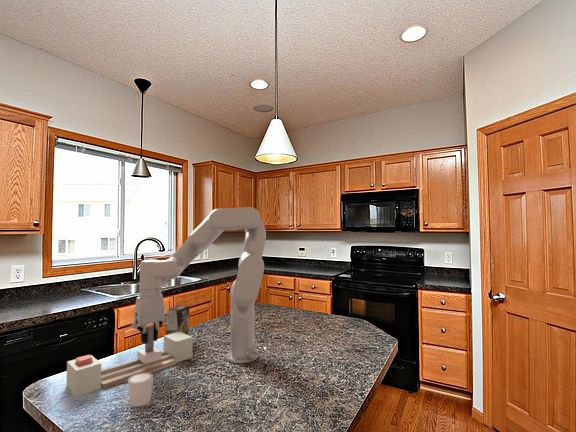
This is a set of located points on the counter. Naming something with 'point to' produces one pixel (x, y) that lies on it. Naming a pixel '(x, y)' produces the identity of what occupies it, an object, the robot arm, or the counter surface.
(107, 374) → the rail track
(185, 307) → the coffee box
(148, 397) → the pale pink cylinder cup
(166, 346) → the cabinet
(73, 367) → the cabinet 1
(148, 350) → the carriage
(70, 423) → the counter surface
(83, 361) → the red block
